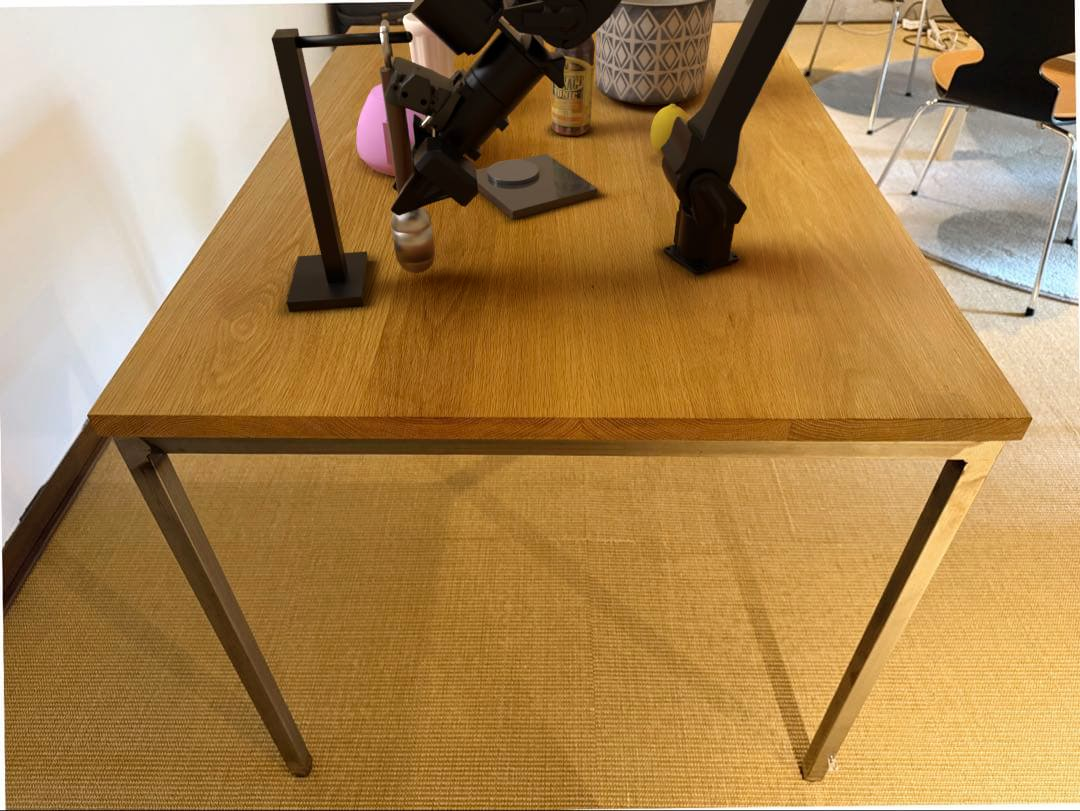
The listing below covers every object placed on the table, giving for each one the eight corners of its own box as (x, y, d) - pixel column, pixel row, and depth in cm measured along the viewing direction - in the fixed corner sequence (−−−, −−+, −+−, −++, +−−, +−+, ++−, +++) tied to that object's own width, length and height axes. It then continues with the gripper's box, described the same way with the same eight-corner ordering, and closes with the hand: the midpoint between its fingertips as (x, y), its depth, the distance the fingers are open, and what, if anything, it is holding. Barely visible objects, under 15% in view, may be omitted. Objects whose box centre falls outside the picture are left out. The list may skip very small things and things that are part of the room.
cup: (404, 106, 130) (393, 15, 120) (445, 96, 133) (436, 7, 124) (429, 120, 125) (419, 26, 115) (470, 108, 128) (463, 17, 119)
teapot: (378, 130, 121) (365, 51, 114) (474, 131, 121) (468, 51, 113) (341, 190, 105) (324, 102, 97) (453, 192, 104) (444, 102, 96)
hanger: (440, 254, 91) (412, 13, 74) (441, 300, 83) (411, 42, 66) (300, 265, 90) (238, 21, 72) (288, 311, 82) (217, 51, 65)
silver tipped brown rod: (436, 259, 88) (408, 16, 71) (437, 279, 85) (407, 29, 68) (398, 262, 88) (361, 18, 71) (397, 282, 84) (358, 31, 68)
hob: (597, 196, 102) (598, 183, 101) (512, 220, 97) (512, 207, 96) (545, 160, 111) (545, 148, 110) (465, 180, 107) (464, 168, 106)
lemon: (685, 168, 109) (691, 112, 103) (646, 165, 110) (651, 109, 104) (687, 153, 113) (693, 98, 108) (650, 150, 114) (654, 96, 108)
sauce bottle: (544, 134, 119) (543, -7, 106) (562, 121, 124) (562, -16, 111) (582, 141, 117) (585, -2, 104) (598, 127, 121) (603, -12, 108)
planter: (708, 81, 137) (721, -21, 127) (698, 118, 123) (712, 7, 113) (604, 74, 141) (608, -26, 130) (583, 110, 127) (585, 1, 116)
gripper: (427, 3, 77) (338, 118, 83) (428, 58, 63) (320, 192, 69) (507, 79, 83) (418, 182, 89) (524, 145, 69) (417, 261, 75)
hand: (395, 201), depth 80 cm, fingers open, 5 cm apart
